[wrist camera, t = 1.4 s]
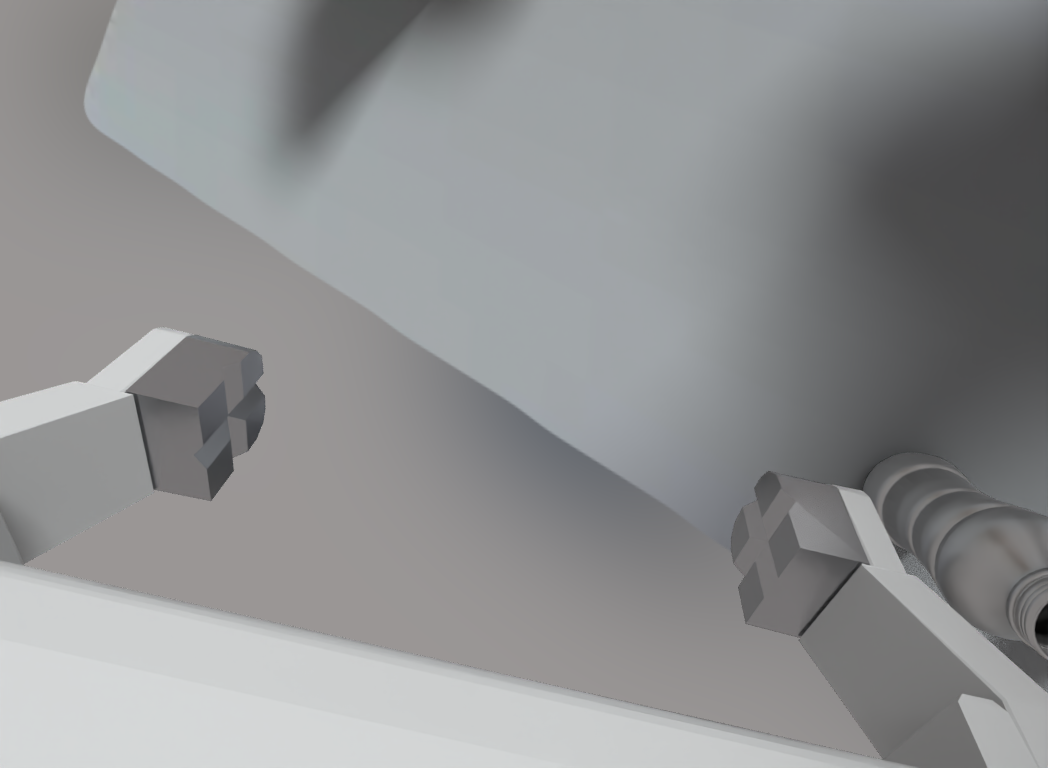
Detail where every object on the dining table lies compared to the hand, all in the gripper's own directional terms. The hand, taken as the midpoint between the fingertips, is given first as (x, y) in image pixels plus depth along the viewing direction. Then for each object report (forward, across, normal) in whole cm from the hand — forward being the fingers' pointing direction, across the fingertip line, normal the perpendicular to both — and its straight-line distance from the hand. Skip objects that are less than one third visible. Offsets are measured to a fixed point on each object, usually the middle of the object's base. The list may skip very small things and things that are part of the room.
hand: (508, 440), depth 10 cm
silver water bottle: (+28, -29, +20) cm, 45 cm away
